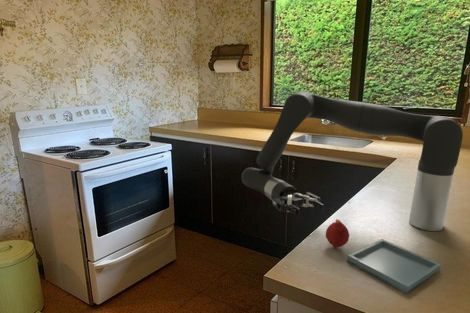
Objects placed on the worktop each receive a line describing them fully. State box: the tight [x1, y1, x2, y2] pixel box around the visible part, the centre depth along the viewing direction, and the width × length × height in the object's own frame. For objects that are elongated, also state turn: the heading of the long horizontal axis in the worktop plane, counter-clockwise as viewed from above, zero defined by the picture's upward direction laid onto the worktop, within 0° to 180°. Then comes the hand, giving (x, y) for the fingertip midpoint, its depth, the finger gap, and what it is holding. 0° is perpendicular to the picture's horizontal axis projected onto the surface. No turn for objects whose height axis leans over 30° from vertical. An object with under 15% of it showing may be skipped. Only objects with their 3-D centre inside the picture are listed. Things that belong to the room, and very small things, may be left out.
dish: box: [346, 239, 442, 295], centre depth 82 cm, size 15×15×2 cm
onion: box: [325, 219, 350, 249], centre depth 89 cm, size 6×6×8 cm
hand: (311, 210), depth 99 cm, fingers open, 8 cm apart
